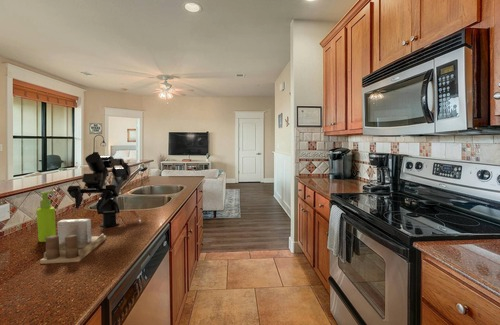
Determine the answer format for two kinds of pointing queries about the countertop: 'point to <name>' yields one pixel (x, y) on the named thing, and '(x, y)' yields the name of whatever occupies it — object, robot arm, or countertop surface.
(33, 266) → the countertop surface
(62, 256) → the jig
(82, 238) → the white square slab
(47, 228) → the soap dispenser
